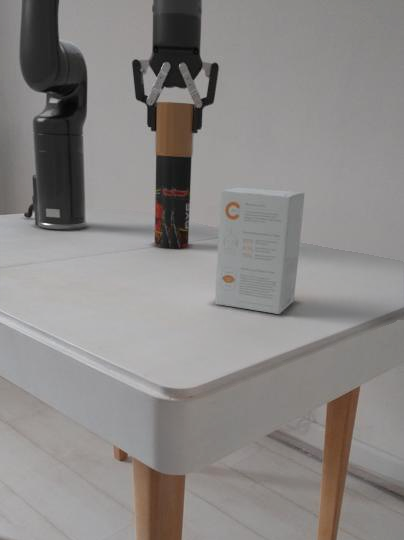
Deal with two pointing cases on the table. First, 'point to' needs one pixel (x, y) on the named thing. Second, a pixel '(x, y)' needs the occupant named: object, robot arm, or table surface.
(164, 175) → the deodorant
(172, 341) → the table surface
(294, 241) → the small box
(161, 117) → the cup
